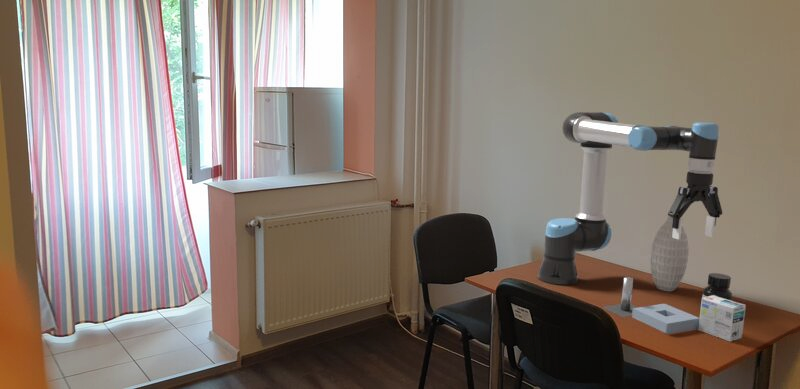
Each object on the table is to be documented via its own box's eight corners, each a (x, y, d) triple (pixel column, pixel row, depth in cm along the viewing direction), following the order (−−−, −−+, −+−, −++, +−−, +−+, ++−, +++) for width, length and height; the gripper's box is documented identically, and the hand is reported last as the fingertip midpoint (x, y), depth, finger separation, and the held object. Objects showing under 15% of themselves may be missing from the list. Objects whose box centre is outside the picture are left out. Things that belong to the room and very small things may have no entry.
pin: (618, 308, 209) (621, 277, 207) (625, 307, 210) (628, 276, 209) (625, 311, 207) (628, 280, 205) (632, 310, 208) (635, 279, 206)
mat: (600, 308, 211) (601, 306, 211) (627, 304, 216) (627, 303, 215) (622, 318, 202) (622, 317, 202) (649, 314, 207) (650, 312, 207)
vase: (648, 281, 243) (656, 211, 238) (684, 287, 238) (692, 215, 233) (646, 290, 232) (654, 216, 227) (683, 296, 226) (692, 221, 221)
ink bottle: (695, 304, 218) (699, 271, 216) (719, 304, 219) (723, 271, 217) (711, 314, 208) (715, 280, 206) (736, 314, 209) (740, 280, 207)
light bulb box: (742, 338, 189) (747, 304, 187) (730, 342, 185) (734, 308, 183) (709, 326, 198) (713, 294, 196) (696, 330, 194) (700, 297, 192)
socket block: (631, 318, 202) (632, 308, 201) (663, 313, 208) (664, 303, 207) (665, 334, 189) (667, 323, 189) (698, 328, 195) (699, 318, 195)
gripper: (678, 174, 188) (670, 242, 191) (740, 172, 196) (731, 238, 200) (660, 170, 195) (653, 236, 198) (720, 169, 203) (712, 232, 207)
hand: (692, 237), depth 199 cm, fingers open, 13 cm apart
